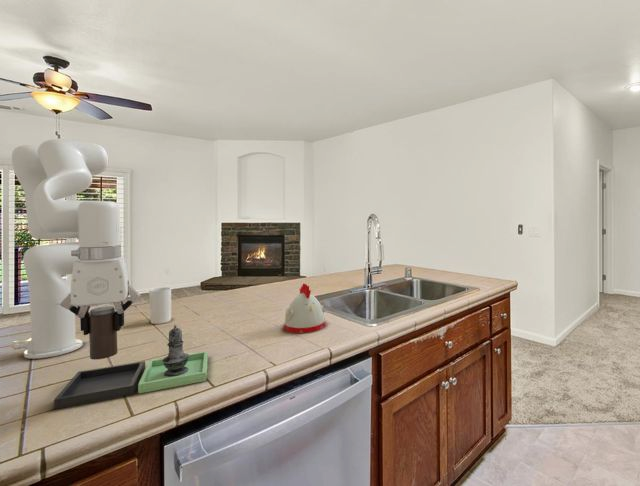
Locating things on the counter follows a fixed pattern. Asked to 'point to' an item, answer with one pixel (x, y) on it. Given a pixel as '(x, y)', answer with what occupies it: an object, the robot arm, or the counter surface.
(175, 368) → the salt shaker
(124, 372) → the dark tray
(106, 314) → the pepper shaker
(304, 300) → the kitchen timer
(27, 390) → the counter surface
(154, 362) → the pale tray
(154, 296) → the mug
